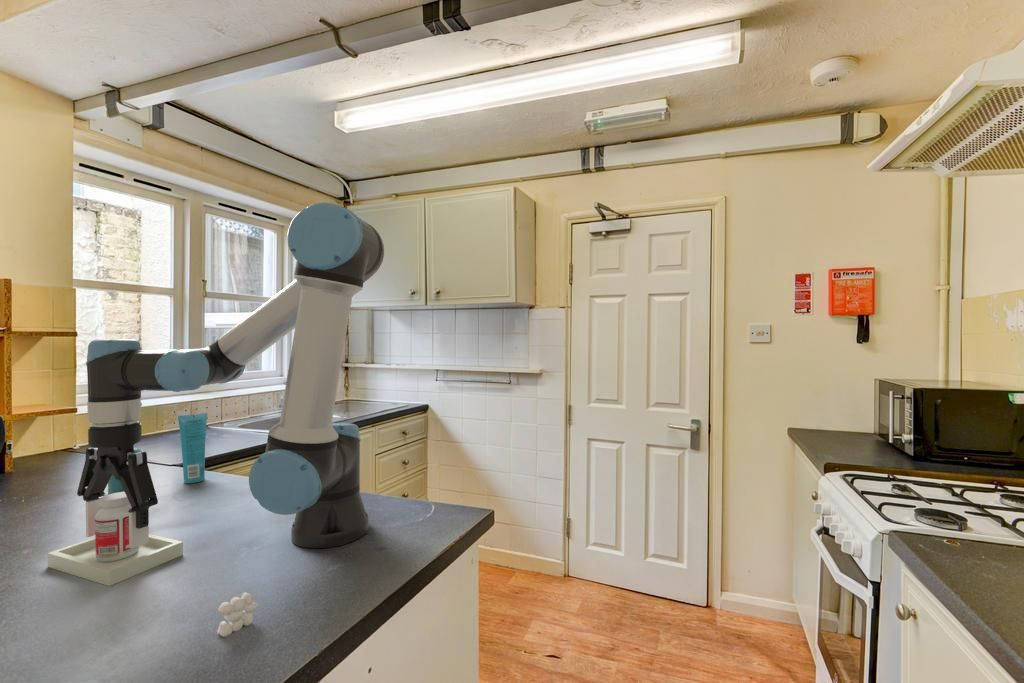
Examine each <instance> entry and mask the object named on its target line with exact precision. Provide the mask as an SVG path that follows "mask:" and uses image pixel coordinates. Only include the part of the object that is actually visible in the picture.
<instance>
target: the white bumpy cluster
mask: <svg viewBox="0 0 1024 683" xmlns="http://www.w3.org/2000/svg"><path fill="white" fill-rule="evenodd" d="M258 609H259V604H258V603H257V602H255V601H254V595H252V594H251V593H249V592H246V591H245V592H243V593H242V594H241V596H240V597H239V596H235V597H232V598H231V599H230V602H228V601H224V602H221V604H220V605H219V607H218V608H217V611H218V612H220V613H221V614H223V615H224V616H223V617H224V619H225V620H222V621H219V625H218V628H217V630H216V633H217V634H218V635H220V636H221V637H223V638H226V637H229V636H230V635H232V633H233V632H238V631H240V630H242V628H243V626H250V625H252V623H253V622H254V612H256V611H258ZM227 621H228V622H227Z"/></svg>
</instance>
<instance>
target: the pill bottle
mask: <svg viewBox="0 0 1024 683" xmlns="http://www.w3.org/2000/svg"><path fill="white" fill-rule="evenodd" d="M100 498H101V499H100V507H102V509H101V510H99V511H98V512H97V513H96V515H95V535H94V537H95V541H96V559H97V560H98V561H100V562H110V561H116V560H120V559H123V558H126V557H129V556H131V555H133V554H135V553H136V552H137V551H138V550H139V546H137V547H135V548H129V512H128V511H129V510H130V509H131V508H132V507H131V505H130V502H129V500H128V498H127V496H126V494H125V492H118V493H113V494H109V495H108V494H106V495H105V496H102V497H100Z"/></svg>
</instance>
